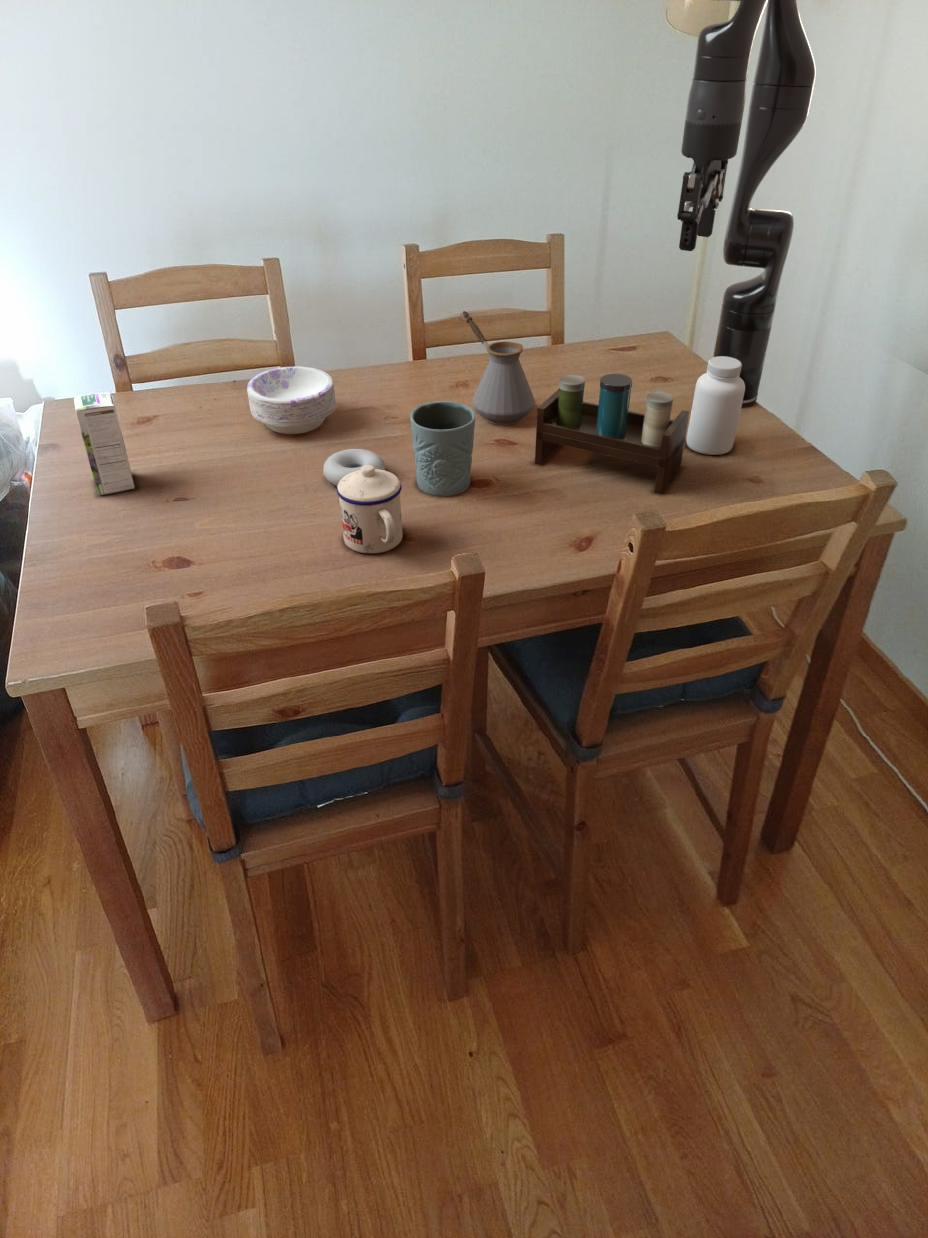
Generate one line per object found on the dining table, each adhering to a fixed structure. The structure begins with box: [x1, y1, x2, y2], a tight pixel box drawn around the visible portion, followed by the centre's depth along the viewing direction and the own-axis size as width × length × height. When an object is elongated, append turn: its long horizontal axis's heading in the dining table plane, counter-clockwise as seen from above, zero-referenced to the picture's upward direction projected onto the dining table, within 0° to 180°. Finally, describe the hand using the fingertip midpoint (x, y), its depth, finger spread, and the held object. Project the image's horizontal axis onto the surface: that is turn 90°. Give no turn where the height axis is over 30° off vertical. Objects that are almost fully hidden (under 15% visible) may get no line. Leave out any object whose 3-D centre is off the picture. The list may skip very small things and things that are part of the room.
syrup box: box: [73, 392, 136, 496], centre depth 138 cm, size 6×6×14 cm
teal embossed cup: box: [409, 400, 476, 497], centre depth 138 cm, size 10×10×12 cm
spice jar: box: [596, 373, 633, 439], centre depth 140 cm, size 5×5×9 cm
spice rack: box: [534, 374, 690, 495], centre depth 142 cm, size 10×22×14 cm, turn 62°
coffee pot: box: [457, 310, 536, 426], centre depth 161 cm, size 21×12×15 cm, turn 28°
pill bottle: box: [685, 356, 745, 456], centre depth 147 cm, size 8×8×15 cm
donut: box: [322, 448, 386, 487], centre depth 143 cm, size 10×4×10 cm
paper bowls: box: [246, 365, 337, 435], centre depth 158 cm, size 15×15×8 cm
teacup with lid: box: [336, 465, 403, 555], centre depth 124 cm, size 12×9×12 cm
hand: (695, 242), depth 129 cm, fingers open, 8 cm apart
